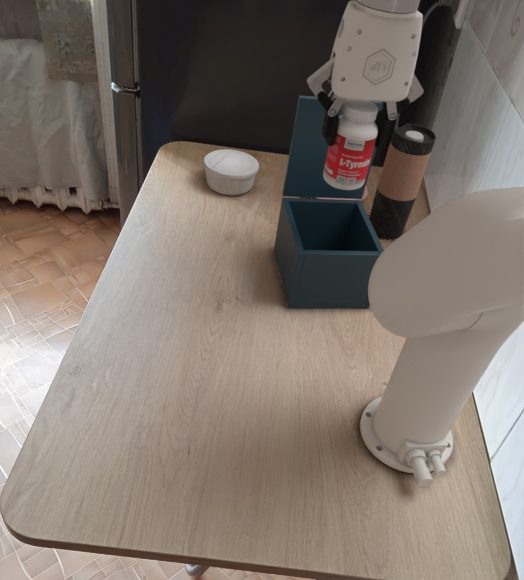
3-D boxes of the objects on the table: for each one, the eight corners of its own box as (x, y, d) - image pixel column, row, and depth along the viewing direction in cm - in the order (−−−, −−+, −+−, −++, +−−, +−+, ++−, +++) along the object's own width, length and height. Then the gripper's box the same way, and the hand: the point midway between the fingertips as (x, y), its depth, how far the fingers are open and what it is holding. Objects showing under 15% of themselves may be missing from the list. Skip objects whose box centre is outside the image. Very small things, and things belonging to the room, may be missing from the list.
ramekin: (200, 171, 122) (201, 147, 118) (251, 172, 124) (253, 149, 120) (205, 198, 114) (207, 174, 110) (260, 199, 116) (263, 175, 113)
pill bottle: (331, 193, 80) (349, 115, 72) (316, 171, 84) (331, 95, 76) (370, 190, 82) (392, 114, 74) (353, 169, 86) (372, 95, 78)
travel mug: (403, 243, 111) (437, 146, 97) (364, 235, 111) (393, 137, 97) (404, 223, 116) (436, 128, 102) (367, 215, 117) (394, 119, 103)
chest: (368, 308, 96) (386, 255, 88) (287, 308, 93) (298, 253, 85) (346, 252, 107) (360, 200, 99) (273, 250, 104) (282, 197, 96)
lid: (389, 103, 86) (381, 89, 89) (300, 97, 83) (294, 82, 87) (361, 199, 98) (355, 183, 102) (282, 196, 96) (278, 180, 99)
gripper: (323, -3, 62) (296, 152, 74) (468, 11, 65) (419, 158, 78) (309, -22, 67) (287, 127, 80) (445, -7, 70) (402, 133, 83)
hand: (352, 141), depth 78 cm, fingers closed on pill bottle, 6 cm apart
